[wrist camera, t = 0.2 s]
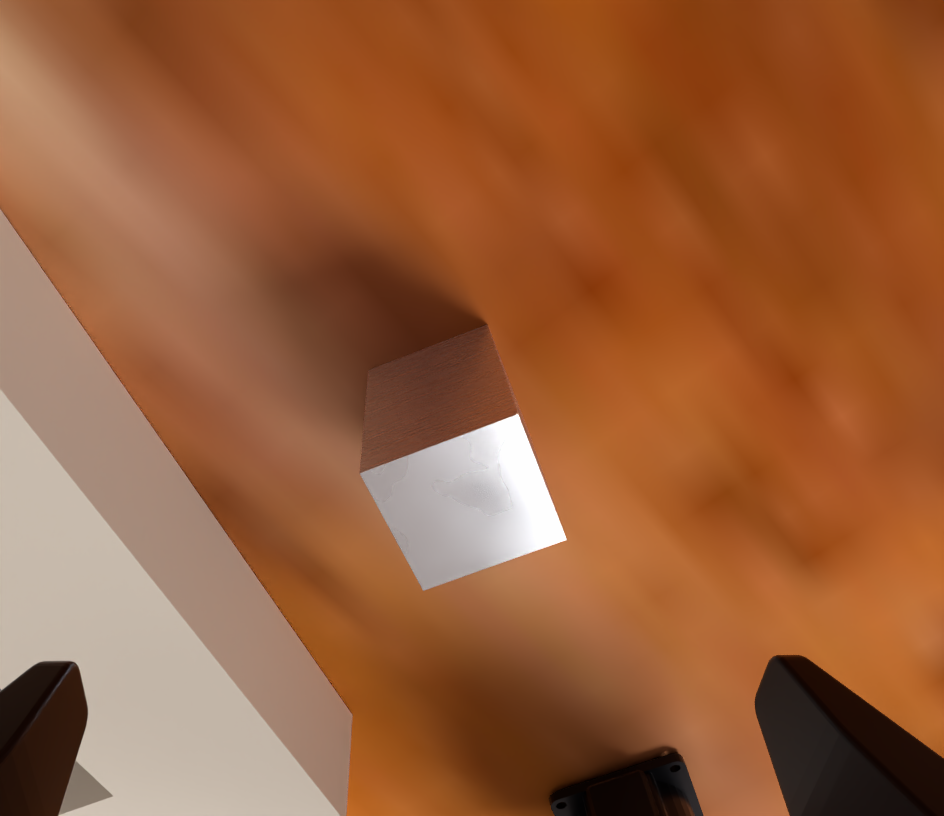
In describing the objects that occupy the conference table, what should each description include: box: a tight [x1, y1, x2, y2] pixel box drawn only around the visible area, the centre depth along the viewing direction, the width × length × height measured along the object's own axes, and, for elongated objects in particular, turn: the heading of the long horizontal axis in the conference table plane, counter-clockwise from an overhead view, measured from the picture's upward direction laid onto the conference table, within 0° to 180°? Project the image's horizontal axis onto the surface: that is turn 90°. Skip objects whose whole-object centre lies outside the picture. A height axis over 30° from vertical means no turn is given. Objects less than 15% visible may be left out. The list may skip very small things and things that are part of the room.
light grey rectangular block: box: [360, 324, 567, 591], centre depth 20 cm, size 4×4×6 cm
